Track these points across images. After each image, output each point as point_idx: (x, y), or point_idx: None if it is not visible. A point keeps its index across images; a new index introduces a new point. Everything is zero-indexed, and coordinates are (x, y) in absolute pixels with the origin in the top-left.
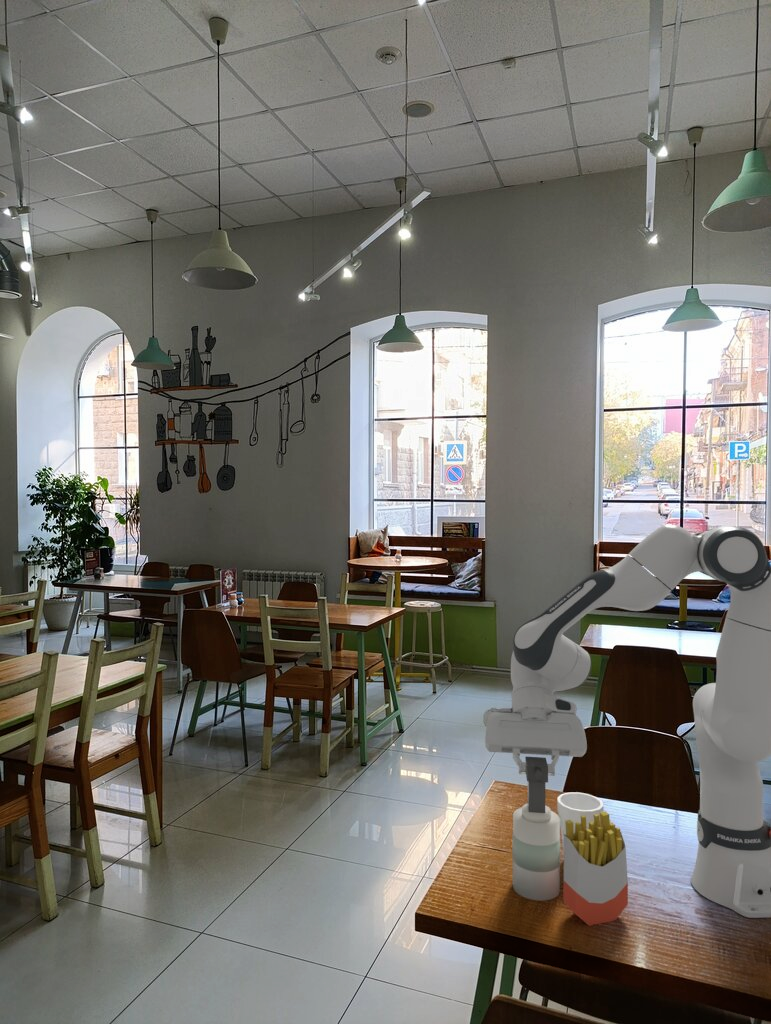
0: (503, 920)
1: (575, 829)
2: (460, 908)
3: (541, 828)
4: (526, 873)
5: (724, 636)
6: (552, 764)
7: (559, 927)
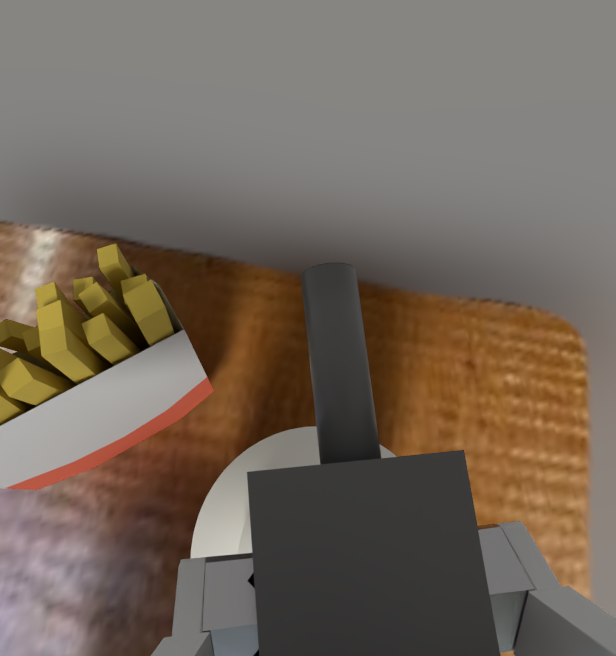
0: (381, 335)
1: (119, 341)
2: (502, 362)
3: (289, 431)
4: None
5: None
6: (193, 627)
7: (232, 338)
